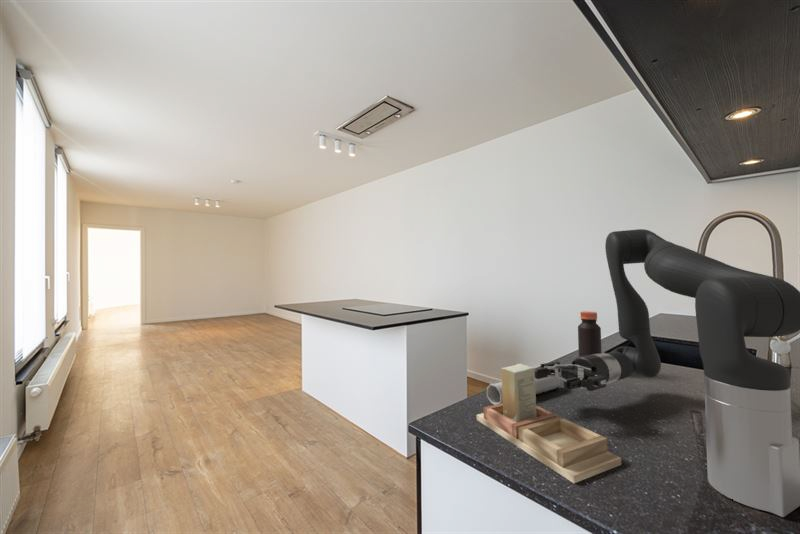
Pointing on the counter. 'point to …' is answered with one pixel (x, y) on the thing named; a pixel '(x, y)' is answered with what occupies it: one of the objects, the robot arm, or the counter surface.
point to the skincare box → (518, 392)
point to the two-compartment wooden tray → (554, 442)
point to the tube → (540, 386)
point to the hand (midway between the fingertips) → (549, 379)
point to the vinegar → (589, 335)
